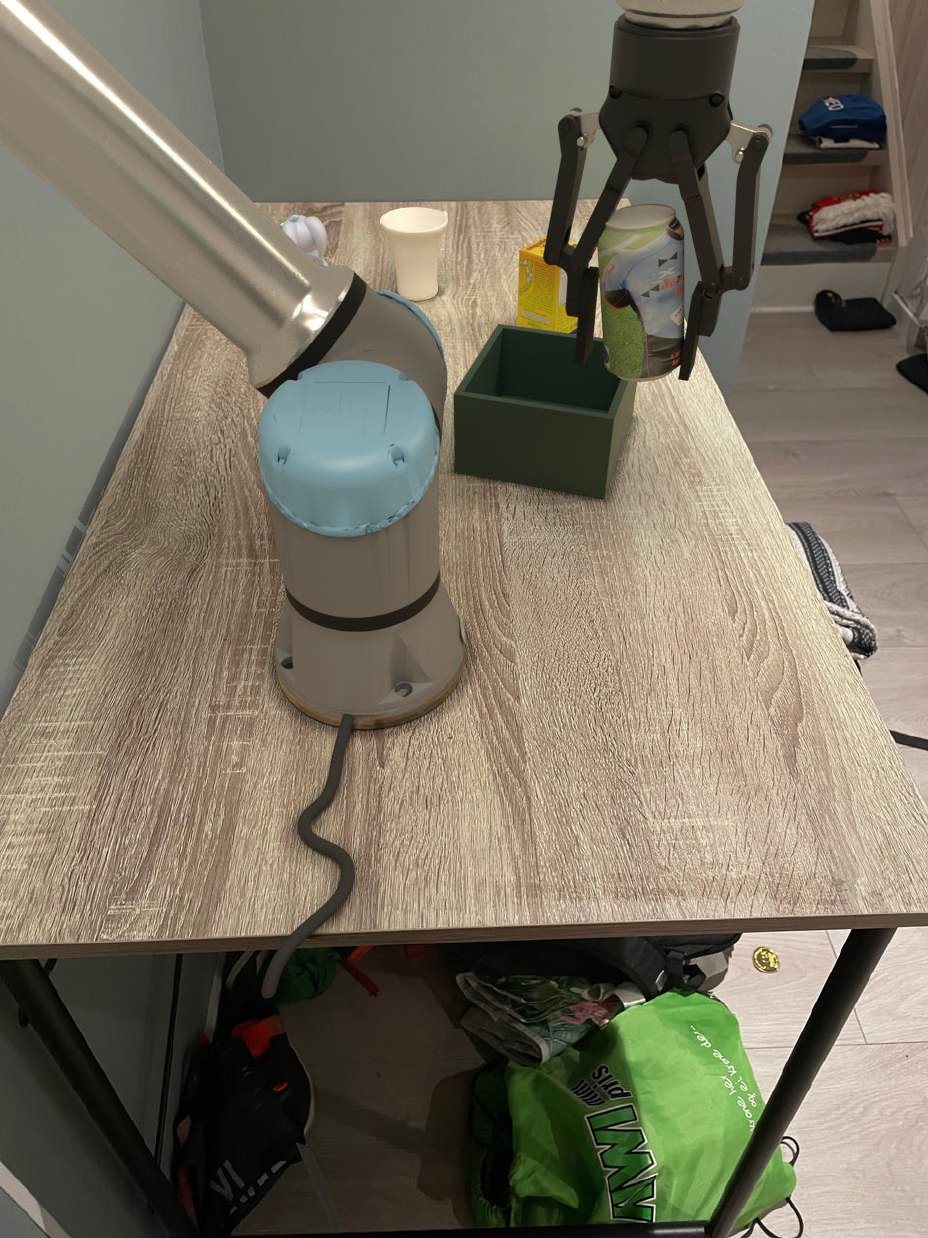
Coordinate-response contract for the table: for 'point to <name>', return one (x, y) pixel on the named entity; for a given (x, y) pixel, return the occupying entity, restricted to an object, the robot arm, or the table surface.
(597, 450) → the bin
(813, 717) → the table surface
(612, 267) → the beverage can
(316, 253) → the toy figurine
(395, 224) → the cup
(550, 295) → the supplement box
